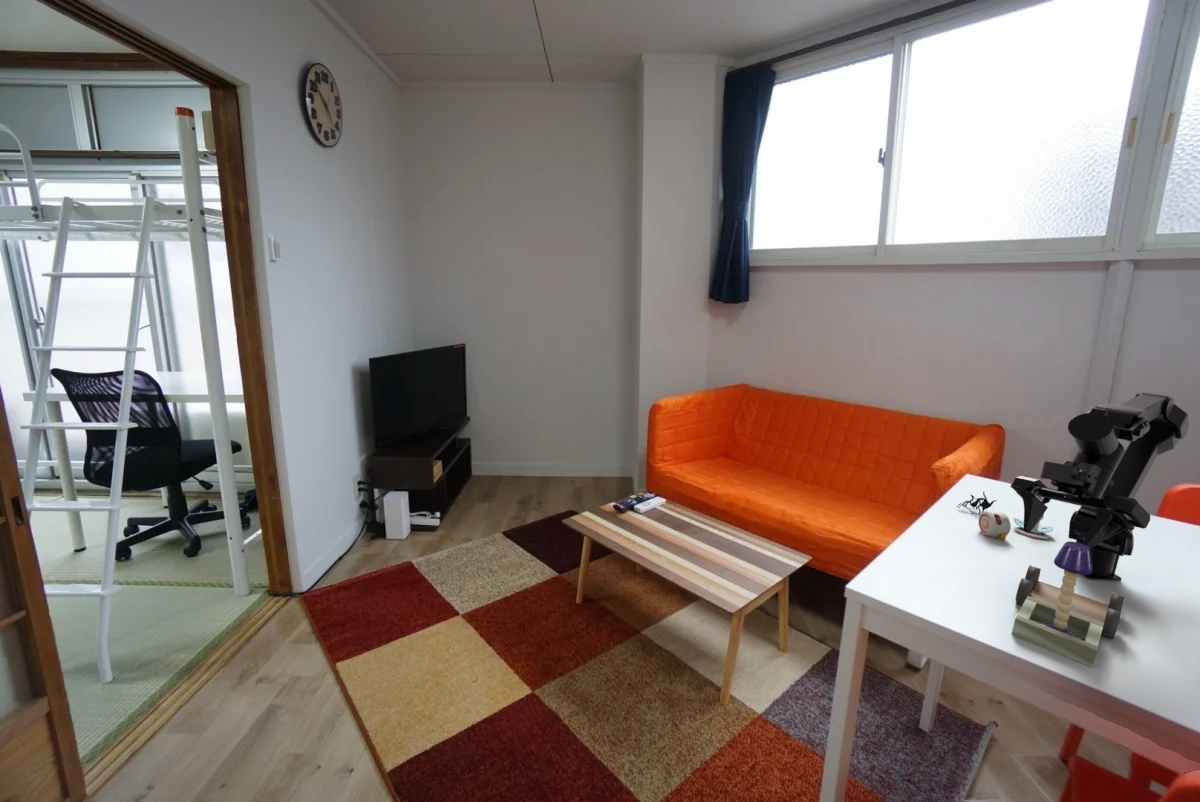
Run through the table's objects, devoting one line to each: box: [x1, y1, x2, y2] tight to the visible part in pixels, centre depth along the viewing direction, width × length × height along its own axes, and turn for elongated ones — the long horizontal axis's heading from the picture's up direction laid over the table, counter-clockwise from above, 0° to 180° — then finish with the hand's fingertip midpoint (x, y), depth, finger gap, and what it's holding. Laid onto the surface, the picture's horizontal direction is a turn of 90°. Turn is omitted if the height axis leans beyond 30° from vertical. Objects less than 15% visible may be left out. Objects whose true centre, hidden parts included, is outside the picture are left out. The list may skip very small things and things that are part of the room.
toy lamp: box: [1044, 540, 1092, 637], centre depth 85 cm, size 5×5×17 cm
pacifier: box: [1013, 513, 1054, 540], centre depth 123 cm, size 7×6×6 cm
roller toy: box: [978, 510, 1012, 541], centre depth 121 cm, size 4×6×6 cm
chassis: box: [1011, 565, 1125, 668], centre depth 90 cm, size 22×13×4 cm, turn 132°
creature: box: [956, 491, 998, 517], centre depth 134 cm, size 8×5×8 cm
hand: (1053, 540), depth 92 cm, fingers open, 9 cm apart
